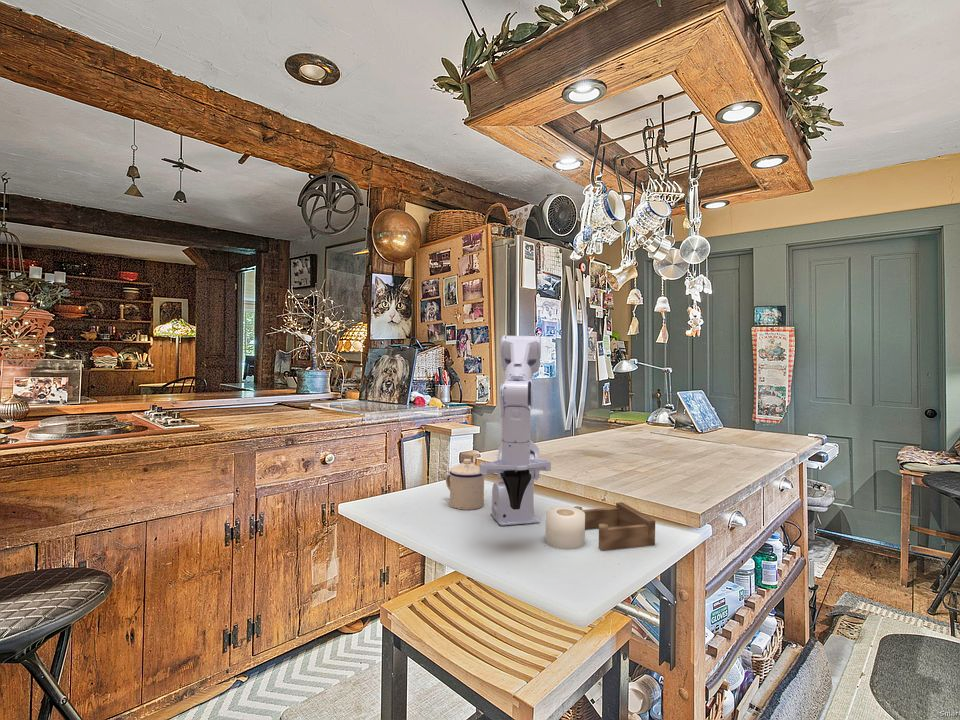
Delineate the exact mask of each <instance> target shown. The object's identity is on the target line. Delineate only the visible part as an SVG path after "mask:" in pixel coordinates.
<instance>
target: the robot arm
mask: <svg viewBox="0 0 960 720" xmlns="http://www.w3.org/2000/svg"><path fill="white" fill-rule="evenodd" d="M541 354H542V337H541V336H540V335H538V334H537V335H506V334H504V335H502V336H501V338H500V358H501V367H502V370H503V372H504V376H503V377H504V378H503V383H500V386H499V406H500V418H501V443H500V445H499V446H498V451H497V452H498V453H497V458H496V459H497V460H496V461H495V460H494V461H487V462H480V463H479V466H480V473H481V474H482V475H484V476H486V475H488V474H489V475H490V474H496V475H497V477H498V479H500V480H501V481H498V482H494V483H493V484H492V490H491V499H492V500H491V512H490V515H491V516H492V517H493V518H494V520H495V521H496V522H497V523H498V524H499V525H500V526H501V527H502V526H513V525H524V524H525V525H527V524H535V523H536V524H537V523H540V519H539V518H538V517H536V516H535V514H534V505H535V504H534V496H535V494H534V493H535V492H534V491H535V488H534V487H535V486H534V485H535V481H538V480H539V479H540V472H544V471H545V472H551V470H552V462H551V461H550V460H549V459H540V448H539V445H537V444H536V443H535V442H534V441H532V440H531V411H532V409H533V405H534V404H533V402H534V385H533V380H532V376H533V375H534V374H537V373H538V372H540V367H541V359H542V356H541ZM529 407H530V408H529Z"/></svg>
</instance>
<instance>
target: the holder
mask: <svg viewBox="0 0 960 720" xmlns="http://www.w3.org/2000/svg"><path fill="white" fill-rule="evenodd" d="M573 508H577V509H580V510H582V511H583V512H584V513H585V531H586V530H596V529H598V549H599V550H600V551H601V552H602V551H603V552H604V551H612V550H619V549H621V548H622V549H630V547H631V548H638V547H648V546H655V545H656V520H655V519H653V518H651V517H650V516H648V515H646V514H644V513H643V512H641V511H639V510H637V509H635V508H634V507H632V506H629V505H628V504H626V503H624V502H621V501H620V502H616V503H615V507H614V506H612V507H605V508H604V507H602V508H590V509H583V507H582V506H579V505H578V506H574V507H573Z"/></svg>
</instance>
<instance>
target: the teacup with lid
mask: <svg viewBox="0 0 960 720" xmlns="http://www.w3.org/2000/svg"><path fill="white" fill-rule="evenodd" d="M445 484H446V487H447V489H448V491H449V505H450V506H451V507H452V508H453V507H454V508H453V509H456V508H457V509H456V510H461V509H463V510H462V511H472V510H473V509H474V510H477V509H481V508H482V507H483V506H484V505H485V475H482V474H481V473H480V465H477V464H475V463H474V462H472V459H471V458H463V462H462V463H459V464H458V465H455V466H452V467H451V468H450V469H449V472H448V473H447V474H446V475H445Z"/></svg>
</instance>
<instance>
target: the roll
mask: <svg viewBox="0 0 960 720" xmlns="http://www.w3.org/2000/svg"><path fill="white" fill-rule="evenodd" d="M582 510H583V509H582ZM582 510H580V509H577V508H574V507H572V506H562V505H558V506H557V505H556V506H552V507H549V508H547V509H546V510H545V533H544V534H545V535H544V536H545V542H546V544H547V545H549V546H551V547H554V548H557V549H561V550H576V549H579V548H582V547H584V546H585V542H586V541H585V538H586V537H585V536H586V530H585V513H584V512H583V511H582Z"/></svg>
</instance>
